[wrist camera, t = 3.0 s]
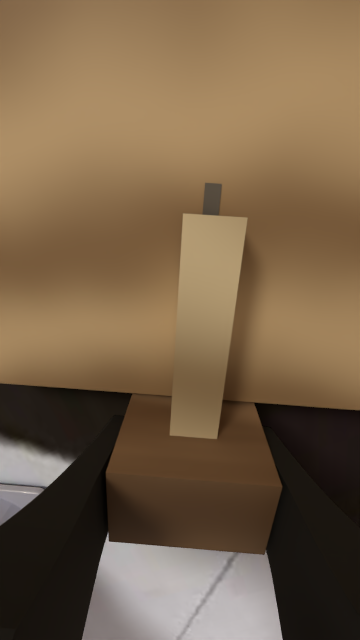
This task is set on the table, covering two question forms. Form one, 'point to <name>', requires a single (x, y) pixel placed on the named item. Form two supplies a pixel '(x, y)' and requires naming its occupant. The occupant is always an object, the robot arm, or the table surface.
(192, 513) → the brown block with bar
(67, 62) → the oak board
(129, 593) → the table surface
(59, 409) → the table surface
